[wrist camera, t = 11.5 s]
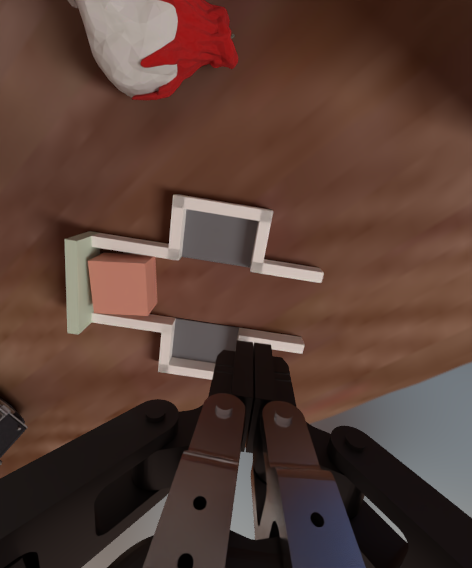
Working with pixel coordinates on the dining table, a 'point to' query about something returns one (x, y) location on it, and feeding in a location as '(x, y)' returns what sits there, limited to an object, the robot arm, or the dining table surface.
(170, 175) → the dining table surface
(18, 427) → the camera
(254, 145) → the dining table surface
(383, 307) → the dining table surface
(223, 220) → the box
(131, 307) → the block
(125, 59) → the white and red lump
